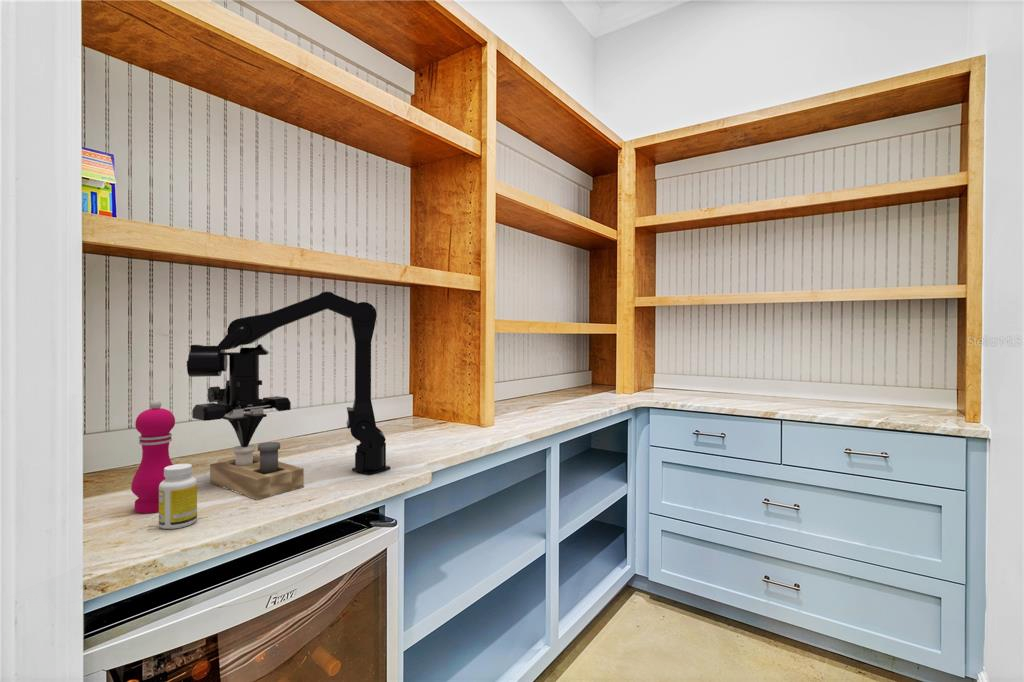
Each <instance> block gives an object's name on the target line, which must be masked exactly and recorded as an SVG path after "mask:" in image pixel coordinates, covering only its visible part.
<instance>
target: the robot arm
mask: <svg viewBox="0 0 1024 682" xmlns="http://www.w3.org/2000/svg"><path fill="white" fill-rule="evenodd" d="M326 310H329V311H331V312H333V313H336V314H338V315H341V316H343V317H345V318H349V320H350V325H351V329H352V335H353V339H354V401H353V404H352V407H351V406H350V407H348V406H347V407H346V411H347V420H346V428H347V429H348V430H349V429H350V430H349V431H350V434H351V436H352V437H353V438H354V439H355V440H357V441H358V442H359V444H356V450H355V451H356V452H354V467H352V468H351V470H352V471H354V472H357V473H361V474H365V475H373V474H377V473H380V472H381V473H382V472H384V471H387V470H390V469H391V466H390V465H387V464H386V463H387V453H386V452H387V446H386V445H387V443H386V440H387V439H386V437H385V434H384V432H383V430H381V429H380V428H378V427H377V424H376V419H375V413H374V408H373V404H372V403H373V402H372V341H373V340H372V339H373V336H374V331H375V328H376V327H375V326H376V321H377V318H378V317H377V309H376V307H374V306H373V304H371V303H369V302H367V301H361V302H355V301H353V300H351V299H348V298H345V297H343V296H339V295H337V294H335V293H333V292H332V291H328V290H326V291H322V292H321V293H320V294H316V295H314V296H311V297H308V298H306V299H304V300H301V301H298V302H296V303H293V304H289V305H287V306H284V307H282V308H279V309H276V310H273V311H271V312H268V313H262V314H255V315H250V316H245V317H240V318H236V319H234V320H232V321H231V322H230V323H229V325H228V327H227V330H226V331H227V332H226V333H227V334H226V335H225V337H224V338H223V339H222V340H221V341H220V342H219V343H218V344H217V345H203V344H191V345H190V347H189V348H190V350H189V353H188V358H187V360H186V371H187V372H186V373H187V375H188V377H190V378H194V377H195V378H198V377H203V378H204V377H221V376H222V373H223V372H227V371H228V369H229V372H228V376H229V377H228V379H229V380H227V379H226V381H225V388H221V387H220V386H218V385H217V386H209V388H207V400H208V402H209V403H202V404H199V403H198V404H196V405H194V406H193V408H192V410H191V411H192V412H191V413H192V414H191V415H192V419H196V420H199V421H203V422H207V421H215V420H221V419H222V420H226V421H228V422H229V423H230V425H231V426H232V428H233V429H234V431H235V435H236V438H237V439H238V441H239V444H240V445H241V447H247V446H248V445H250V442H251V440H252V438H253V436H254V433H255V432H256V430H257V428H258V426H260V423H261V422H262V420H263V419H264V418H266V417H267V415H268V414H267V413H264V410H269V409H275V410H276V411H277V412H283V411H284V412H285V411H290V410H291V409H292V403H291V401H290V399H289V397H285V396H278V395H276V396H275V395H274V396H268V397H263V398H260V386H262V385H263V380H261V379H260V356H267V355H269V353H270V351H269V350H267V349H266V348H265V347H264V346H263V344H261V343H259V344H257V345H256V347H241V348H240V350H239V351H237V352H236V351H235V352H231V351H228V352H226V350H232V349H233V350H234V349H236V348H238V347H240V346H247V345H250V344H253V343H255V342H257V341H258V340H260V339H262V338H264V337H265V336H267V335H268V334H271V333H272V332H274V331H276V330H277V329H279V328H281V327H284V326H287V325H289V324H292V323H294V322H297V321H299V320H302V319H306V318H308V317H310V316H313V315H316V314H318V313H321V312H323V311H326ZM228 356H229V357H228ZM228 358H229V359H228ZM228 360H229V361H228ZM228 365H229V366H228ZM228 367H229V368H228Z"/></svg>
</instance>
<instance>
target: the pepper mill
mask: <svg viewBox="0 0 1024 682" xmlns="http://www.w3.org/2000/svg"><path fill="white" fill-rule="evenodd" d="M149 407H150V408H149V409H145V410H143V411H142V412H140V413H139V415H137V418H135V425H134V426H135V429H136V431H137V432H138V433H140V436H139V437H138V439H139V441H138V444H139V445H140V446H141V449H142V456H141V460H140V463H139V466H138V468H137V470H136V472H135V474H134V476H133V478H132V481H131V488H130V489H131V492H132V494H133V495H134V496H136V497H137V499H135V501H134V511H135V513H139V514H152V513H153V514H155V513H159V485H160V483H161V482H162V481H163V480H165V479H166V477H164V468H165V467H167V466H171V465H174V464H173V462H172V461H171V458H170V451H169V449H170V443H171V442H172V441H173V439H172V436H173V433H171V430H173V428H174V427H175V424H176V418H175V415H174V414H173V412H172V411H170V410H169V409H166V408H161V407H162V402H161V401H160V400H157V399H155V400H152V401H151V402H150V403H149Z"/></svg>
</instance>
